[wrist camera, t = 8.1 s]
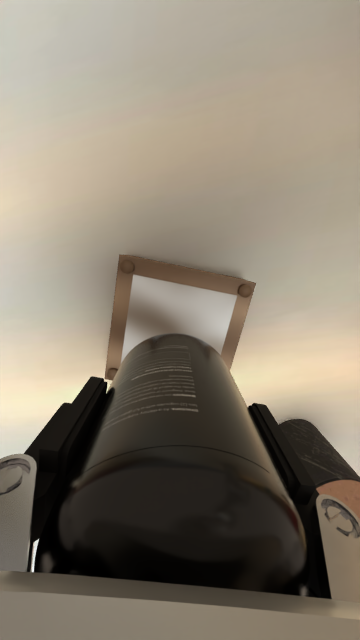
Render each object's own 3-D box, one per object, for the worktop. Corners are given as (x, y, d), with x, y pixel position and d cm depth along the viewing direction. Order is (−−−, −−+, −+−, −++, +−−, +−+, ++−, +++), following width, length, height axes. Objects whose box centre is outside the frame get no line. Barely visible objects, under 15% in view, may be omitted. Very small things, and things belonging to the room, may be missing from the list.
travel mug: (261, 427, 30) (414, 731, 11) (314, 410, 29) (581, 702, 10) (273, 465, 32) (421, 780, 13) (323, 451, 31) (559, 758, 12)
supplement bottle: (107, 410, 14) (-231, 1174, 2) (136, 314, 12) (-680, 1479, 1) (206, 436, 15) (322, 1109, 3) (246, 349, 13) (876, 1152, 1)
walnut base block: (128, 255, 23) (117, 254, 19) (243, 279, 24) (257, 283, 20) (114, 361, 27) (103, 381, 22) (215, 378, 28) (222, 401, 23)
